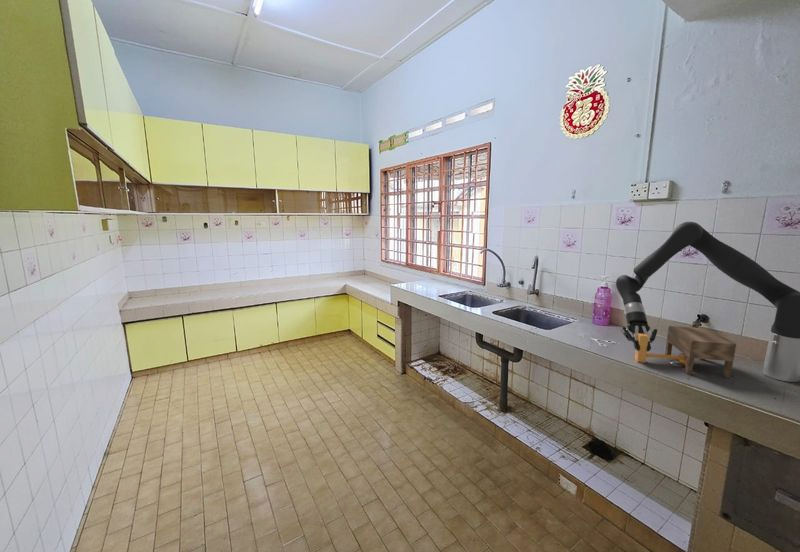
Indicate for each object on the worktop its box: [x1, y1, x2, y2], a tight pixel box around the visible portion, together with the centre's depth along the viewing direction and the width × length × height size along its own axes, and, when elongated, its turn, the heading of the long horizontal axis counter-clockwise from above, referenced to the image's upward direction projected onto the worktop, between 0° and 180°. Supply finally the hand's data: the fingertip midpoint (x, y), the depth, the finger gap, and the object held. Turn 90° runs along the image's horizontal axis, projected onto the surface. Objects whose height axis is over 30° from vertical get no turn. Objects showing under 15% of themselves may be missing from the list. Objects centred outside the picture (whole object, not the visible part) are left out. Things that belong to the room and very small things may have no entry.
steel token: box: [668, 359, 685, 368], centre depth 139 cm, size 5×5×1 cm
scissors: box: [576, 332, 621, 348], centre depth 168 cm, size 11×1×20 cm
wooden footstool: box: [664, 325, 737, 379], centre depth 136 cm, size 14×18×14 cm
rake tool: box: [634, 333, 687, 367], centre depth 140 cm, size 19×8×12 cm, turn 74°
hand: (643, 350), depth 140 cm, fingers closed on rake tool, 3 cm apart
